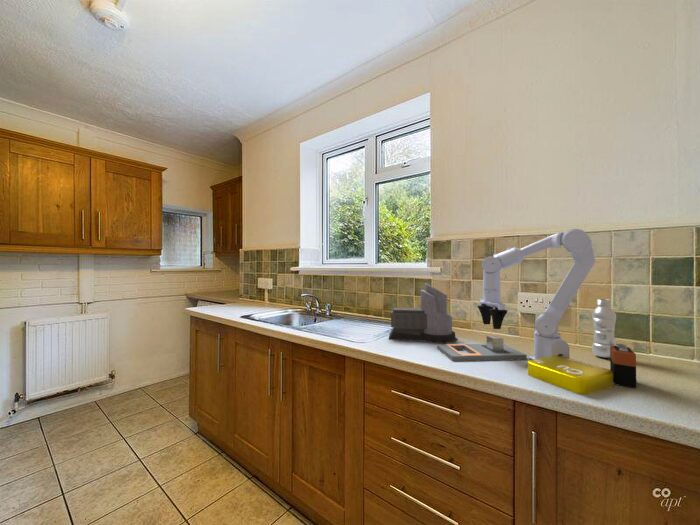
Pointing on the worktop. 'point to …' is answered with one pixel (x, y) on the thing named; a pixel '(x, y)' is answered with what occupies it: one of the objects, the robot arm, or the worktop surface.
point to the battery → (623, 365)
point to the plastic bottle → (603, 328)
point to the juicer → (424, 320)
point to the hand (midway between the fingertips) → (491, 326)
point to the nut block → (495, 344)
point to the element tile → (571, 374)
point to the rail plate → (478, 352)
